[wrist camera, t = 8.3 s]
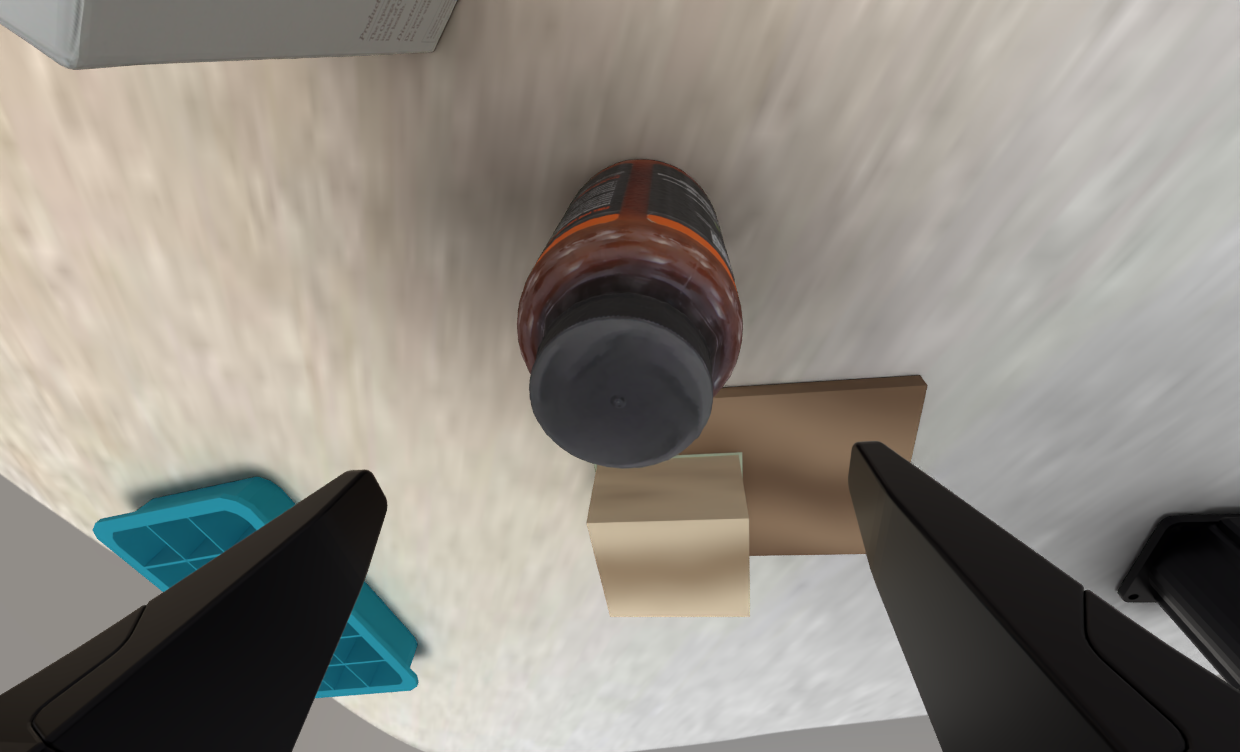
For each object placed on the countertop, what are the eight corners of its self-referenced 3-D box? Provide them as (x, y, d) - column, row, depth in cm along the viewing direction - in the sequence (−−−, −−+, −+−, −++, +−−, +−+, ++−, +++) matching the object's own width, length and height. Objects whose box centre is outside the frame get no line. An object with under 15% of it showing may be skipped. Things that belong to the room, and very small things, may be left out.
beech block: (740, 549, 28) (749, 616, 25) (617, 552, 29) (610, 616, 26) (738, 454, 25) (748, 518, 21) (597, 461, 26) (586, 523, 22)
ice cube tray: (273, 456, 29) (235, 494, 27) (440, 648, 39) (424, 689, 37) (127, 488, 32) (81, 526, 30) (318, 660, 42) (295, 699, 40)
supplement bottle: (545, 265, 21) (443, 440, 12) (606, 124, 18) (534, 206, 9) (671, 327, 22) (670, 533, 13) (748, 203, 19) (823, 354, 10)
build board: (885, 541, 28) (890, 553, 28) (615, 546, 30) (614, 558, 30) (919, 375, 22) (927, 385, 22) (583, 396, 25) (581, 406, 24)
